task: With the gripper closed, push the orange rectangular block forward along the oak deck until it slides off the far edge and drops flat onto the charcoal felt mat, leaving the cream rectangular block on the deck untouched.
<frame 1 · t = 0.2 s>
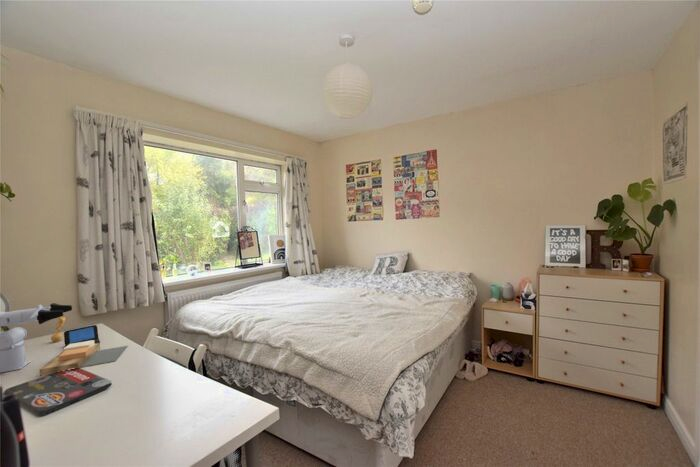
hand: (67, 310, 133), 21 cm above the table, tool horizontal, fingers open, 7 cm apart
deck: (72, 360, 131), on the table
mat: (105, 356, 134), on the table
cream rectangular block: (79, 348, 137), point 2 cm above the table, touching deck
handheld game console: (82, 345, 149), on the table
figurine: (59, 341, 156), on the table
orange rectangular block: (75, 355, 130), point 2 cm above the table, touching deck
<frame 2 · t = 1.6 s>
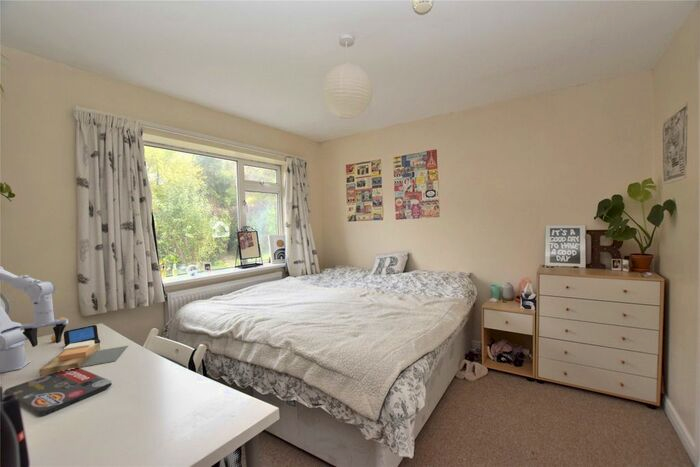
hand: (46, 344, 126), 9 cm above the table, tool pointing down, fingers open, 7 cm apart
nothing on the table moved.
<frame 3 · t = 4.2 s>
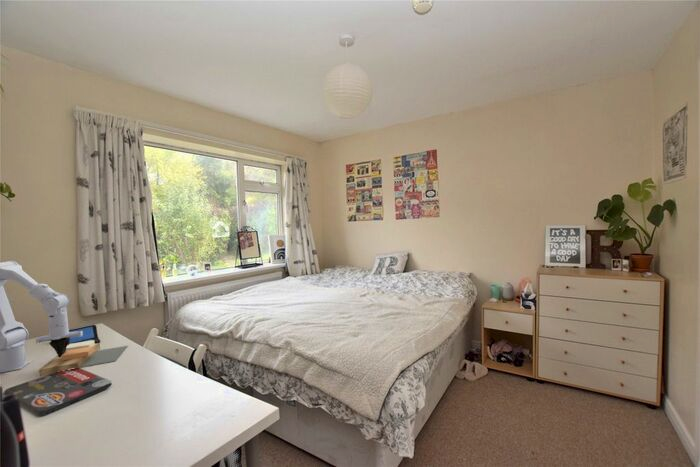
hand: (61, 356, 128), 3 cm above the table, tool pointing down, fingers closed
orange rectangular block: (78, 355, 130), point 3 cm above the table, touching deck, gripper
everything else where it was.
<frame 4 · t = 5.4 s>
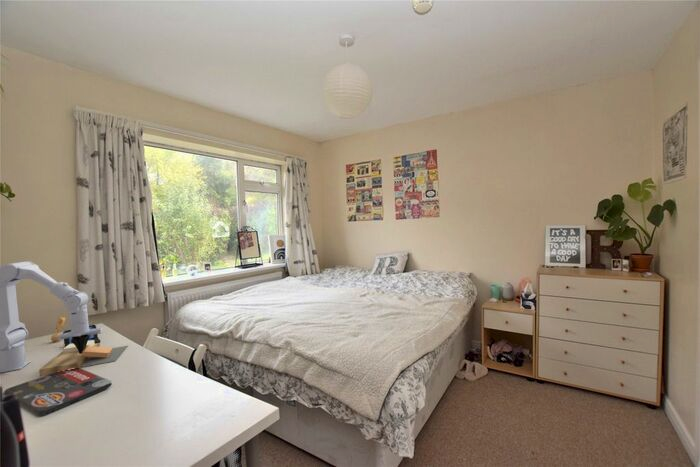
hand: (82, 352, 130), 3 cm above the table, tool pointing down, fingers closed
orange rectangular block: (97, 354, 133), point 2 cm above the table, tilted 16°, touching gripper
everything else where it was.
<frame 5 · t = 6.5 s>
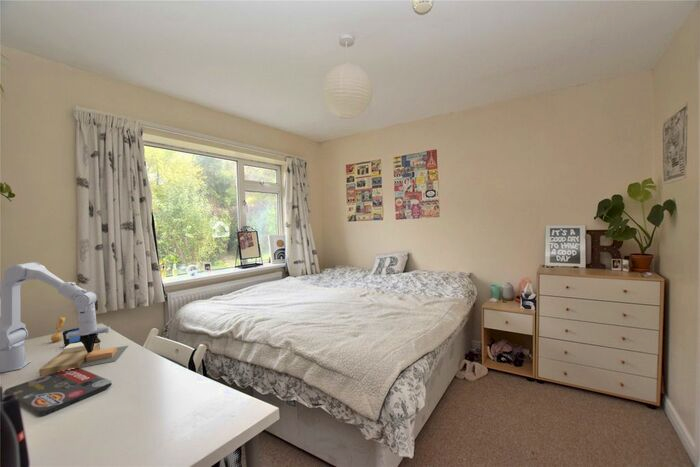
hand: (90, 351, 131), 3 cm above the table, tool pointing down, fingers closed
orange rectangular block: (102, 356, 133), resting on mat
everything else where it was.
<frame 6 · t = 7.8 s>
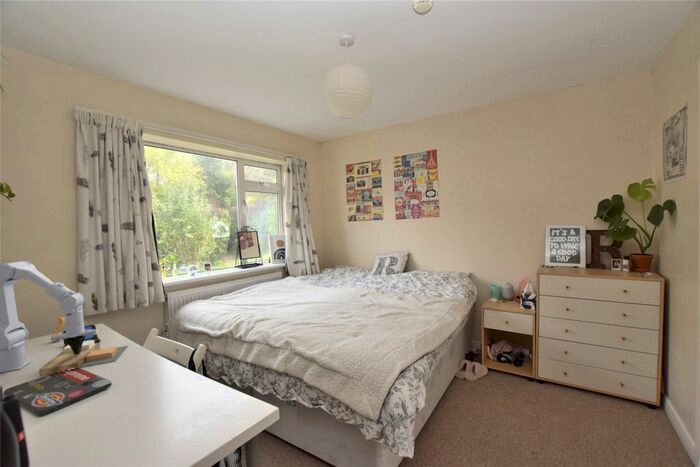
hand: (77, 353, 130), 3 cm above the table, tool pointing down, fingers closed
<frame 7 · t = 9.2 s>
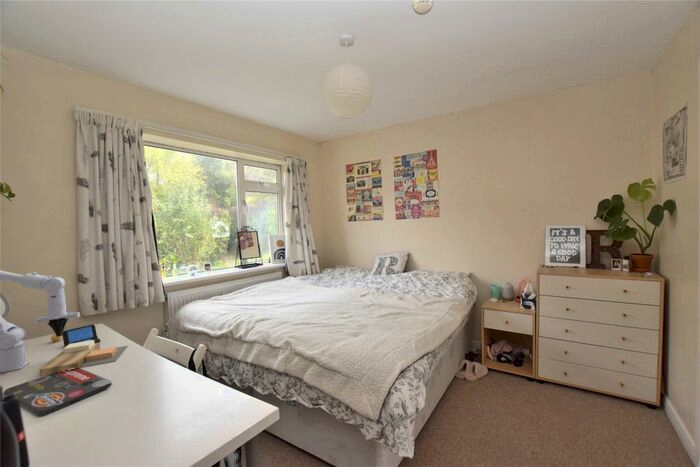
hand: (59, 335, 134), 10 cm above the table, tool pointing down, fingers closed
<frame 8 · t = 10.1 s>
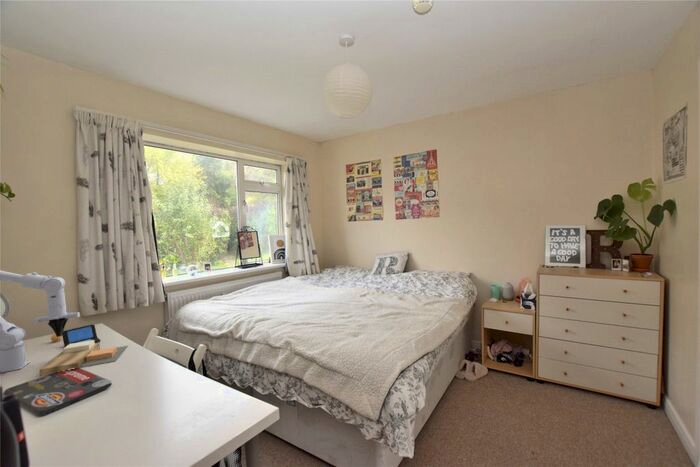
hand: (59, 335, 134), 10 cm above the table, tool pointing down, fingers closed
at the end: orange rectangular block resting on mat; orange rectangular block inside the target area on the mat (1.2 cm from its centre), point 0.3 cm above the mat's base; cream rectangular block moved 0.0 cm from its start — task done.
